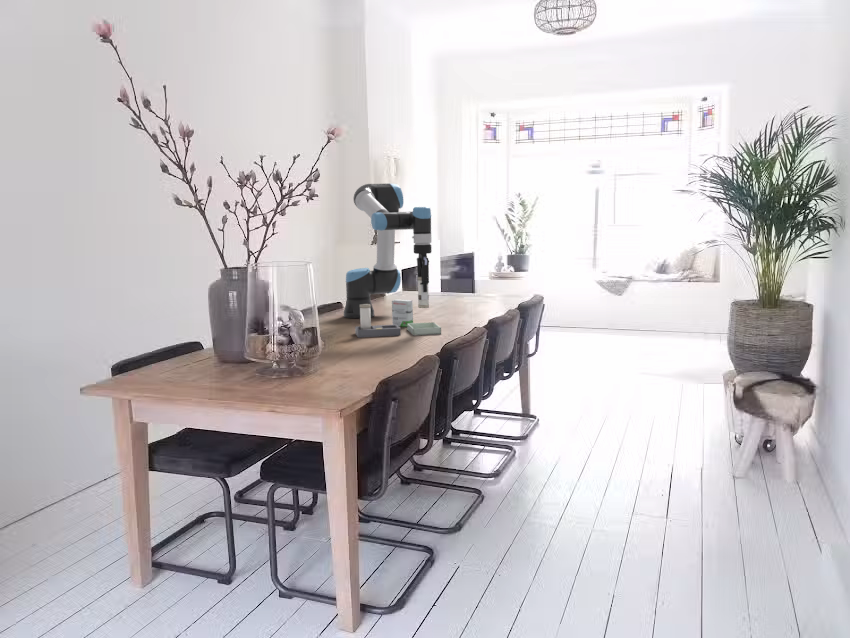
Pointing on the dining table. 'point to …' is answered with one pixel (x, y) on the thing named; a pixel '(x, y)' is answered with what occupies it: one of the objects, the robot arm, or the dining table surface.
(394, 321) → the ink box
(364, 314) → the fuse
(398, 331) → the board
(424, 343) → the dining table surface
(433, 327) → the parts tray
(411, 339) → the dining table surface
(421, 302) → the fuse
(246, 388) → the dining table surface
